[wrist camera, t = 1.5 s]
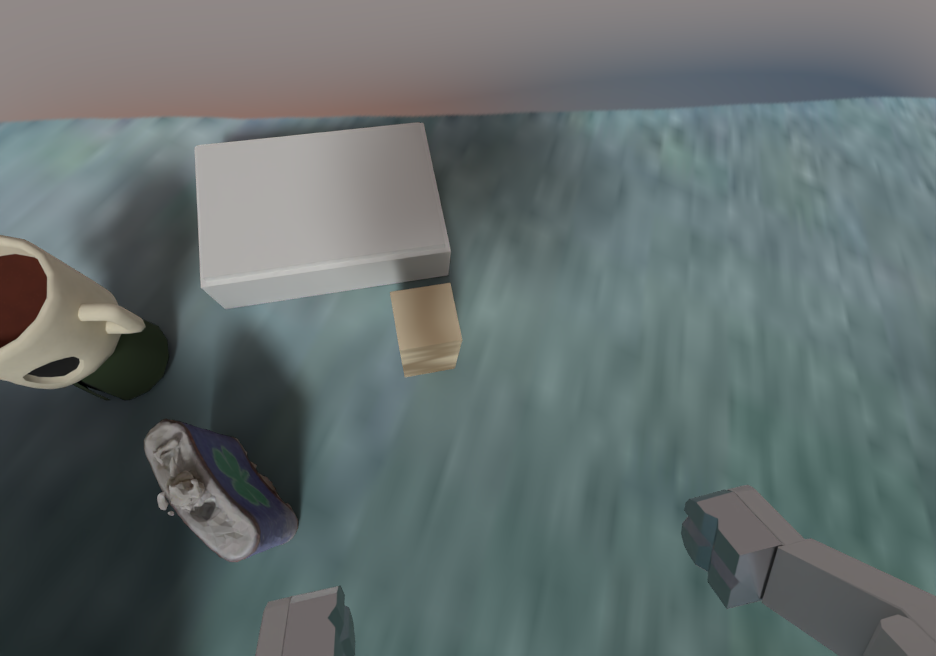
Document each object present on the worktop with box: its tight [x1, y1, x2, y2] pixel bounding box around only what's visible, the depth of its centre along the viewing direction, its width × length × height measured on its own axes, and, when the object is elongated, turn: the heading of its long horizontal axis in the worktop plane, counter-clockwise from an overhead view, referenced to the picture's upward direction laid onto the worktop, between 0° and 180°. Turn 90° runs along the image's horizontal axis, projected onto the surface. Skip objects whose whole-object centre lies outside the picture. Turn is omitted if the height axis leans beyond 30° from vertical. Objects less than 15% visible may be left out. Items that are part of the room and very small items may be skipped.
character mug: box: [0, 235, 169, 400], centre depth 30 cm, size 11×7×13 cm, turn 92°
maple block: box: [390, 283, 462, 377], centre depth 35 cm, size 4×4×8 cm
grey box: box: [195, 122, 451, 309], centre depth 39 cm, size 18×12×5 cm, turn 102°
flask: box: [144, 419, 298, 562], centre depth 29 cm, size 9×3×11 cm, turn 42°
